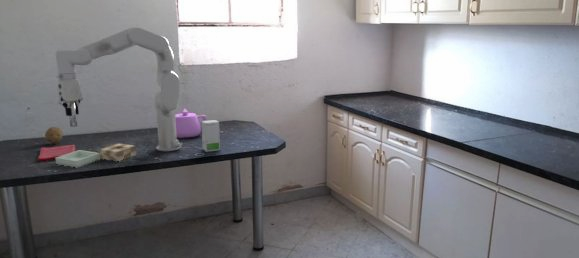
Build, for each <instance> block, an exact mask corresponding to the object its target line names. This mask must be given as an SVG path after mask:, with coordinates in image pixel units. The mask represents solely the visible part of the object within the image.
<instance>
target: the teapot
mask: <svg viewBox="0 0 579 258" xmlns="http://www.w3.org/2000/svg"><path fill="white" fill-rule="evenodd" d="M199 118H200V119H201V118H202V120H201V121H207V119H208V118H207V115H205V114H201V115H197V114H196V113H194V112H189V111H188V109H187V108H184V109H183V111H181V113H175V121H176V134H177V139H183V138H196V137H198V136H199V135H200V133H202V123H200V119H199Z"/></svg>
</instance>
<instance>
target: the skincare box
mask: <svg viewBox="0 0 579 258" xmlns="http://www.w3.org/2000/svg"><path fill="white" fill-rule="evenodd" d="M201 123H202V127H201V140H202V141H201V145H202V150H203V151H204V152H207V153H208V152H215V151H220V150H221V138H220V137H221V136H220V133H221V131H220V121H218V120H216V119H213V120H211V119H210V120H206V121H202V120H201ZM201 123H200V124H201Z"/></svg>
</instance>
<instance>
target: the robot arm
mask: <svg viewBox="0 0 579 258" xmlns="http://www.w3.org/2000/svg"><path fill="white" fill-rule="evenodd" d="M134 46H138V47H141V48H143V49H146V50H149V51H151V52H153V53H154V54H155V56H156V60H157V61H156V62H157V68H156V69H157V70H156V83H157V85H158V86H159V87H160V90H159V91H158V92H157V93H156V94H155V96H154V99H153V101H154V106H155V107H154V108H155V112H156V123H157V124H156V125H157V135H158V145H157V146H156V147H155V148H156V150H157V151H159V152H172V151H177V150H179V149H181V148H182V146H183V142H180V141H179V139H178V137H177V134H176V121H175V115H176V111H175V110H176V109H177V108H178V106H179V104H180V103H179V102H180V94H181V93H180V88H181V82H180V78H179V76H178V74H177V73H176V72H175V55H174V52H173V50H172V48H171V46H170V43H169V40H168V39H167V38H166V37H165V36H163V35H159V34H157V33H154V32H151V31H148V30H146V29H144V28H141V27H137V26H133V27H129V28H126V29H124V30H121V31H119V32H116V33H115V34H111V35H109V36H107V37H103V38H102V39H100V40H97V41H95V42H91V43H89V44H86V45H84V46H82V47H79V48H77V49H75V50H72V49H59V50H56V51H55V60H56V67H57V75H56V78H57V79H58V81H57V94H58V95H57V96H58V100H57V104H58V105H60V106H62V107H63V108H64V110H65V116H67V117H69V116H72V111H71V108H70V101H75V100H76V101H75V108H76V115H79V114H80V112H79V106H80V103H81V102H82V101H83V99H84V96H83V91H82V87H81V83H80V80H79V78H78V77H77V70H76V66H88V65H90V64H91V63H92V62H93V60H95V59H98V58H101V57H102V58H103V57H106V56H110V55H116V54H118V53H120V52H122V51H125V50H128V49H130V48H132V47H134Z"/></svg>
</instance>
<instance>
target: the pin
mask: <svg viewBox="0 0 579 258" xmlns="http://www.w3.org/2000/svg"><path fill="white" fill-rule="evenodd" d="M75 101H76V100H75ZM75 101H70V108H71V111H72V116H68V119H69V126H70V127H71V128H75V127H78V116H77V114H76V108H75Z"/></svg>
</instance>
